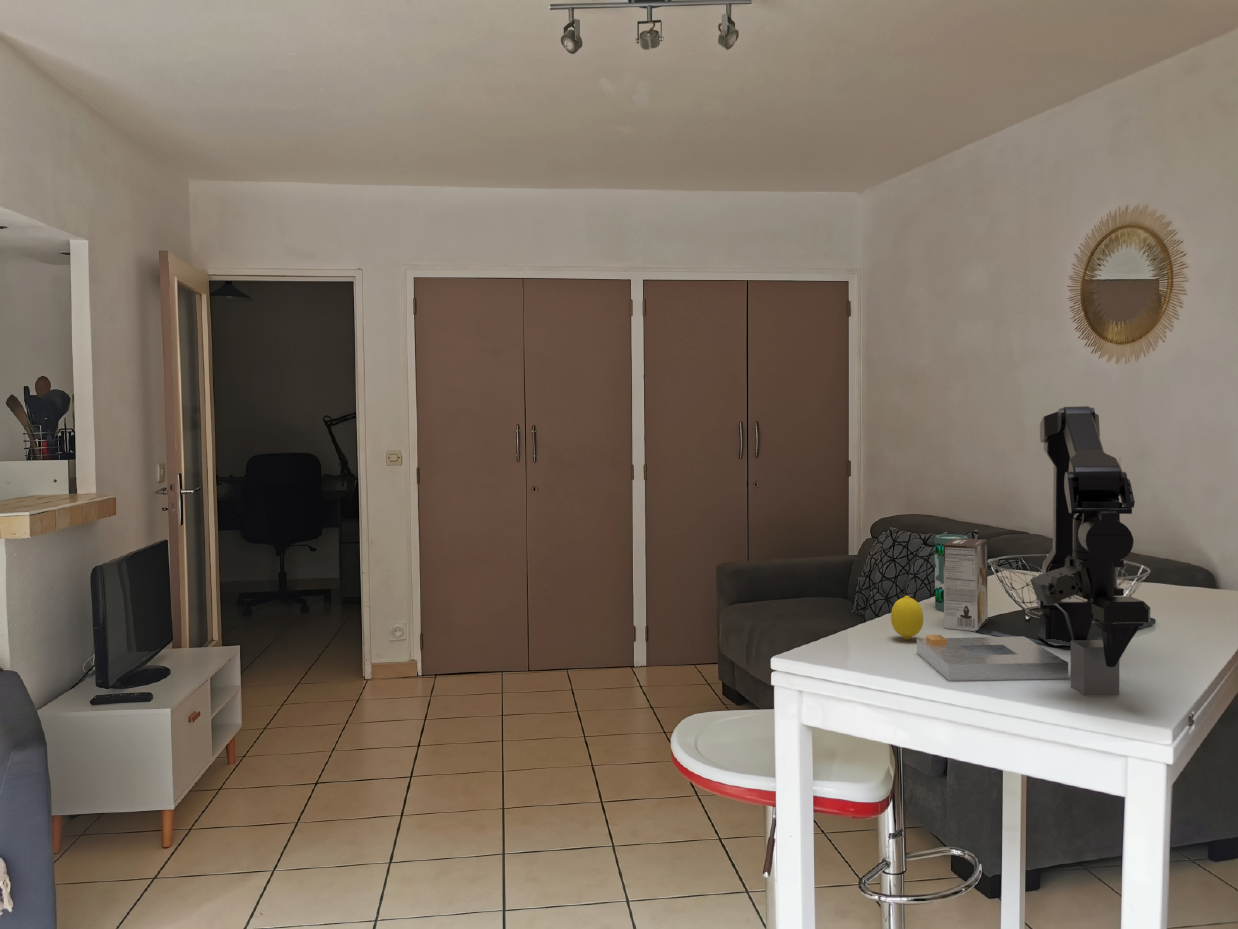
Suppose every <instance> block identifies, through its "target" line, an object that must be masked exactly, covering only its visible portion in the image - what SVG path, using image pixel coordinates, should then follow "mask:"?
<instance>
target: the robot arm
mask: <svg viewBox="0 0 1238 929" xmlns="http://www.w3.org/2000/svg"><path fill="white" fill-rule="evenodd" d="M1100 428H1101V427H1100V415H1099V414H1098V413H1096V410H1095V407H1090V406H1089V405H1087V406H1086V405H1085V406H1063V407H1061V408H1058V410H1057V411H1055V412H1052V413H1050V414H1047V415H1044V416H1043V418H1041V421H1040V424H1039V439H1040V440H1039V442H1040V443H1043V451H1044V452H1045V454H1046V457H1048V459H1049V460H1050V463H1052V466H1053V485H1052V486H1053V487H1052V488H1053V494H1052V495H1053V496H1052V497H1053V499H1052V501H1053V502H1052V504H1053V505H1052V508H1053V509H1052V514H1053V515H1052V548H1051V549H1050V552H1049V553H1048V554H1047V556H1046V557H1045V558H1044V560H1043V561H1042V570H1041V572H1042V573H1038V575H1036V576H1034V577H1032V578H1031V579H1029V580H1030V583H1031V586H1032V589H1033V591H1034V594H1035V598H1036V599H1035V600H1036V605H1037V606H1038V608H1039V609H1041V610H1042V611H1041V613H1042V614H1040V615H1039V633H1038V635H1039V636H1041V637H1043V638H1045V639H1046V640H1047V639H1056V640H1062V641H1066V642H1071V640H1088V637H1089V633H1090V630H1091V628H1092V623H1094V624H1095V625H1096V626H1097V627H1098V628H1099V629H1100V630H1101V636H1102V637H1101V638H1102V639H1101V640H1103V647H1104V655H1105V661H1106V665H1107V666H1108V667H1115V666H1116V665H1117V663H1118V661H1119V662H1120V660H1121V657H1122V656H1123V654H1124V652H1125V651H1126V649H1127V647H1128V645H1129V644H1130V642H1131V641H1132V639H1133V638H1134V637H1135V635H1136V633H1137V632H1138V630H1140V628H1141V627H1144V626H1145V623H1150V622H1151V607H1150V606H1149V605H1148V604H1147V603H1146V602H1145V601H1143V600H1141V599H1139V598H1136V597H1133V596H1131V595H1130V596H1127V595H1126V596H1124V594H1125V593H1124V592H1125V591H1124V588H1122V587H1120V586H1118V568H1124V567H1125V563H1124V562H1125V561H1124V560H1125V558H1126V557H1127V556H1128V555H1129V554H1130V553H1131V551H1132V549H1133V547H1134V536H1133V534H1132V531H1131V530H1130V529H1129V527H1128V526H1126V525H1125V524H1124V523H1123V522H1121V521H1120V518H1121V516H1120V515H1132V514H1133V509H1134V508H1135V503H1136V501H1135V497H1134V496H1135V495H1134V493H1133V488H1132V482H1131V479H1129V478H1128V473H1127V472H1126V471H1123V470H1122V467H1121V465H1120V463H1119V461H1118V459H1117V458H1116V457H1114V456H1112V455H1111V454H1107V453H1106V452H1105V450H1104V447H1103V444H1102V441H1101V438H1100V437H1101V432H1100V431H1101V430H1100Z"/></svg>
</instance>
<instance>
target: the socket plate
mask: <svg viewBox="0 0 1238 929" xmlns="http://www.w3.org/2000/svg"><path fill="white" fill-rule="evenodd" d="M917 654H918V656H919V657H921V658H922V659H923V660H924V661H925V662H926V663H927V664H928V665H929V666H931V667H932V668H933V669H934V670H935V671H936V672H938V673H939V674H940V675H941V676H942V677H943V678H945V679H946V681H948V682H961V681H962V682H964V681H965V682H966V681H967V682H968V681H1019V680H1021V681H1022V680H1023V681H1024V680H1068V679H1069V662H1068V661H1067V660H1065V659H1063V658H1061V657H1060V656H1058V655H1056V654H1054V653H1053V652H1051V651H1050V650H1048V649H1046V648H1044V647H1043V646H1041V645H1039V644H1037V643H1036V642H1034V641H1032V640H1031V639H1030V638H1028V637H1026V636H987V637H986V636H985V637H979V636H977V637H945V636H942V635H941V634H926V635H925V637H924V638H923V637H922V638H921V637H920V638H916V655H917Z"/></svg>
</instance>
